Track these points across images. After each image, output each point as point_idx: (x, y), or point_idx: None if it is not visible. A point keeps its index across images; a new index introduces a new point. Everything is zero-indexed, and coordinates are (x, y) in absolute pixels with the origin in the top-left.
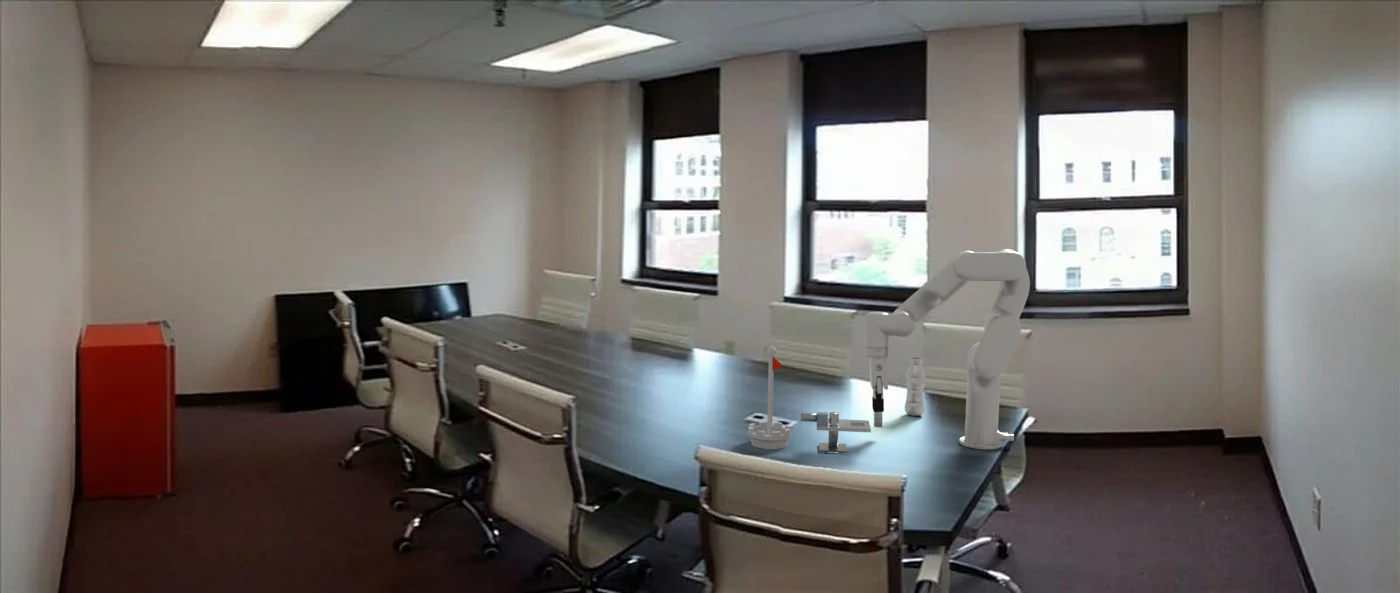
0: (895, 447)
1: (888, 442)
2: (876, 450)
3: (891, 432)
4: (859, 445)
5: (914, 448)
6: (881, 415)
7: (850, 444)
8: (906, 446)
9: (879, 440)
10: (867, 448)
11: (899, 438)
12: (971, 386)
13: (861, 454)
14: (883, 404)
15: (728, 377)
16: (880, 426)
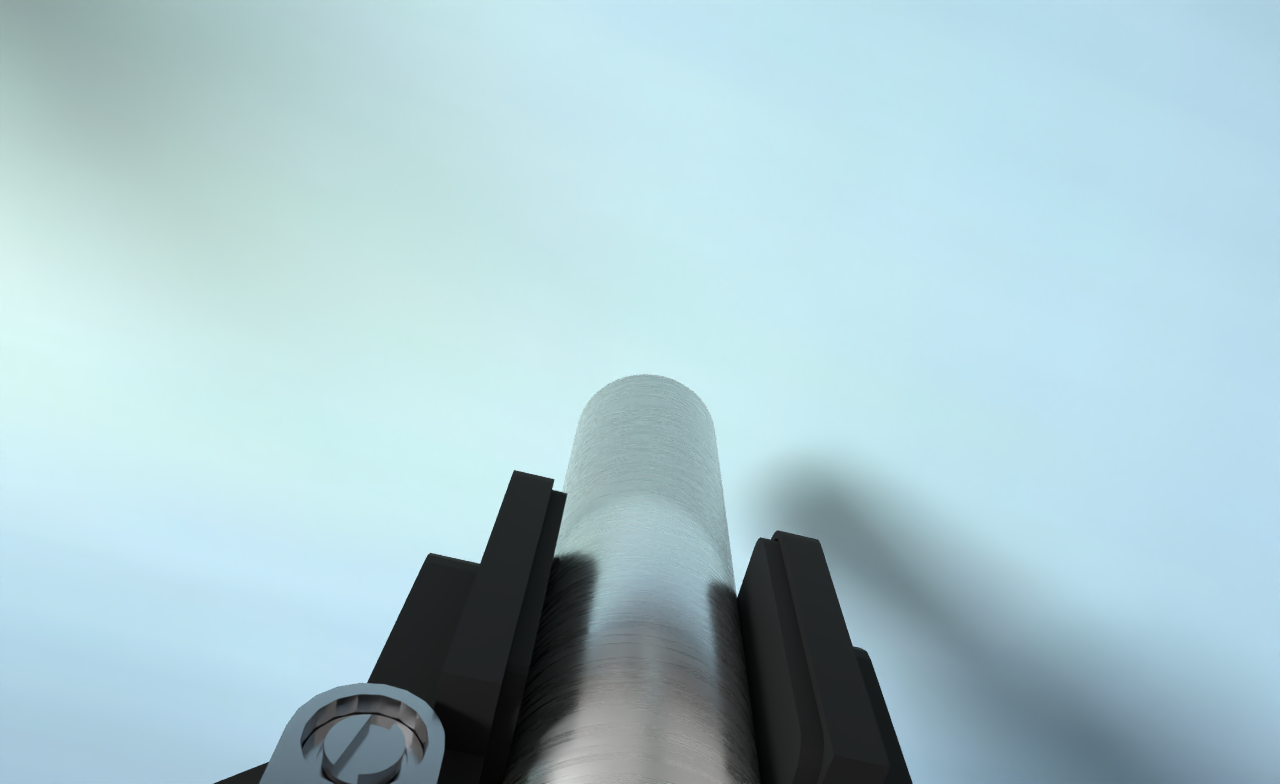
0: (1115, 283)
1: (861, 297)
2: (1176, 557)
3: (326, 65)
4: (929, 675)
5: (1238, 16)
6: (712, 499)
7: None
8: (1108, 105)
9: (748, 385)
10: (1069, 628)
11: (675, 57)
12: None
13: (1273, 748)
14: (852, 652)
15: None
16: (713, 430)
